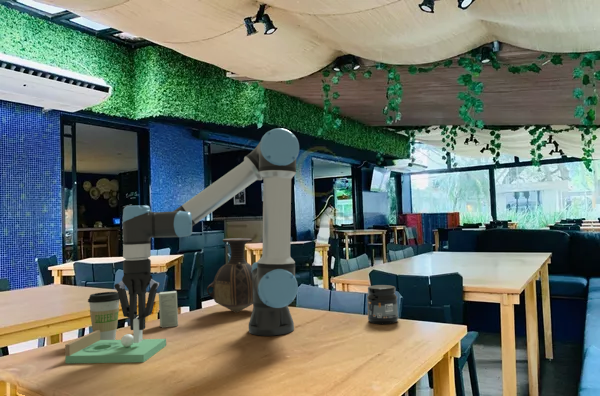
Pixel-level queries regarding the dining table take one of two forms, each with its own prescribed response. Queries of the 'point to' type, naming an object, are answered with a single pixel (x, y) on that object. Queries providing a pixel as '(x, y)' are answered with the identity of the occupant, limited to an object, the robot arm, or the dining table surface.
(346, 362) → the dining table surface
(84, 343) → the putting platform
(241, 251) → the vase
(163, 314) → the skincare box
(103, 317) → the coffee cup
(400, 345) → the dining table surface
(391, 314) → the supplement container
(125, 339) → the ball
